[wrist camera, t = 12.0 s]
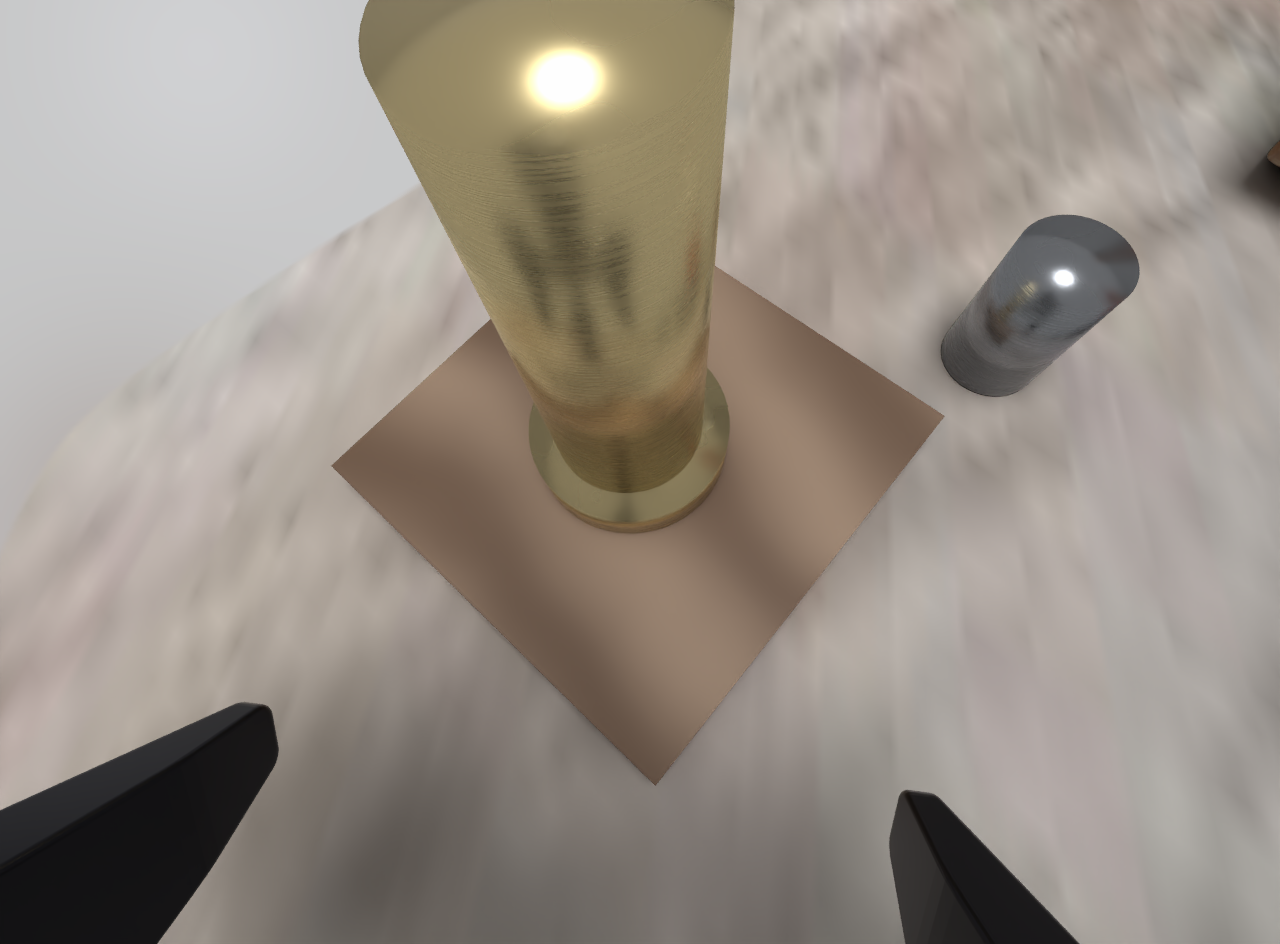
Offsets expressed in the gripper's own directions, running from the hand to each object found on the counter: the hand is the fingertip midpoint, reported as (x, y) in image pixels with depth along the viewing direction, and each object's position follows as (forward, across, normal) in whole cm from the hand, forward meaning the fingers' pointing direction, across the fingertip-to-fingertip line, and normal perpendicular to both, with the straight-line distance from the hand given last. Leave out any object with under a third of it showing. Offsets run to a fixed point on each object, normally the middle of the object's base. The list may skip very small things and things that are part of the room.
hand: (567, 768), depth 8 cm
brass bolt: (+12, +1, -2) cm, 12 cm away
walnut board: (+13, +1, -1) cm, 13 cm away
